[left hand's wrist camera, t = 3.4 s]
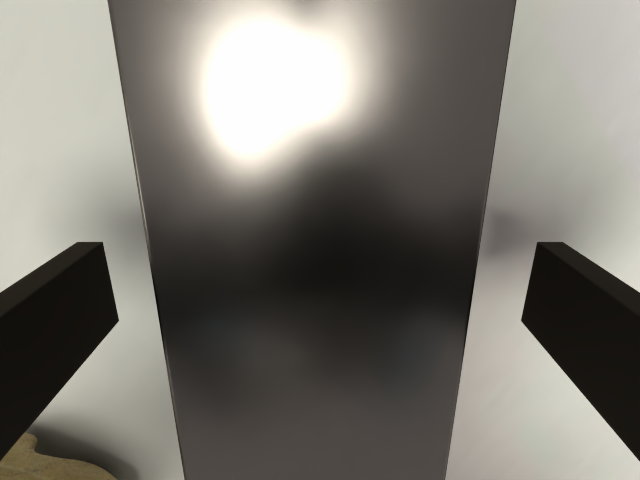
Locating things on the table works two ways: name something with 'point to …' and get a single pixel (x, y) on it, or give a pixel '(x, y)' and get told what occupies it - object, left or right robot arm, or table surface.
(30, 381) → the left robot arm
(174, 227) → the bar
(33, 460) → the sculpture
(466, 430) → the table surface
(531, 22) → the table surface
